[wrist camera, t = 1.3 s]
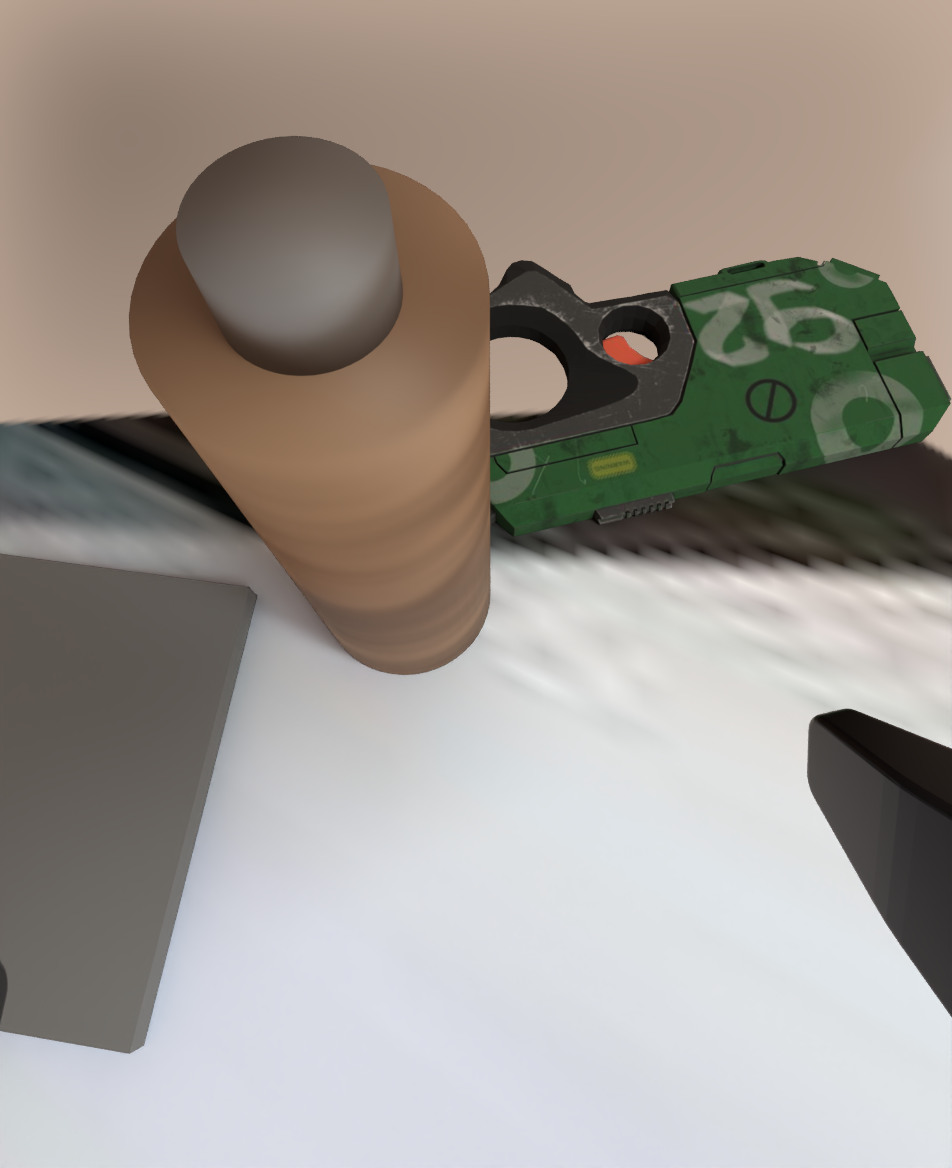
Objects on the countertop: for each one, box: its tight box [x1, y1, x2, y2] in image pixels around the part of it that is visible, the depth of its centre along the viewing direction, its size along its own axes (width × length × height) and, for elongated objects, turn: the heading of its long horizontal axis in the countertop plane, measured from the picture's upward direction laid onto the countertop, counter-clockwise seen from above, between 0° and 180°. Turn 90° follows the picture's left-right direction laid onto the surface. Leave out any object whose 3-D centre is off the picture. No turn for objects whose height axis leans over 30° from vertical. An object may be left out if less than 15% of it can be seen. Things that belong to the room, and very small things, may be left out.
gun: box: [490, 257, 951, 537], centre depth 25 cm, size 16×2×10 cm
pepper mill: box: [129, 136, 490, 675], centre depth 16 cm, size 5×5×14 cm
